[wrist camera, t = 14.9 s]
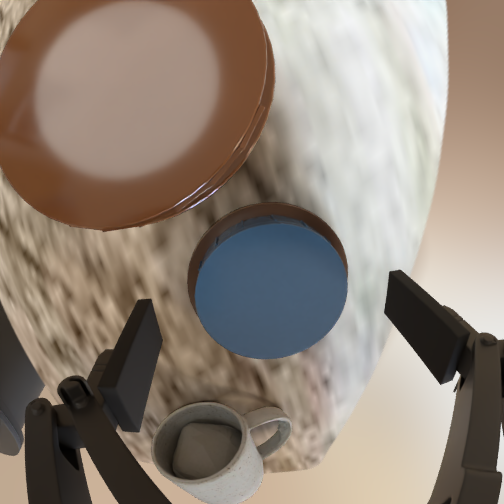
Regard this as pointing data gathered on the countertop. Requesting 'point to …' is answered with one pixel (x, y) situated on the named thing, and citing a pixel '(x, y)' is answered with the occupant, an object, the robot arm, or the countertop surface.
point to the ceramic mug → (216, 450)
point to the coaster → (253, 212)
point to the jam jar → (131, 106)
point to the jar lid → (270, 287)
